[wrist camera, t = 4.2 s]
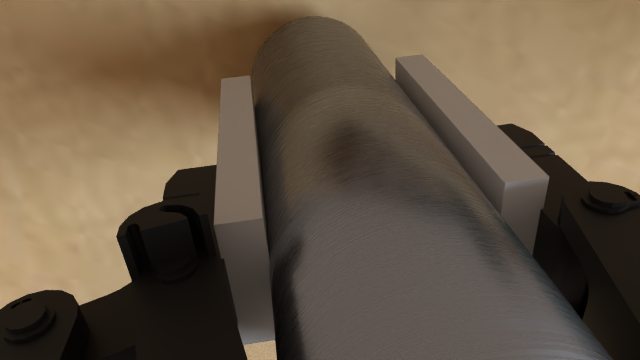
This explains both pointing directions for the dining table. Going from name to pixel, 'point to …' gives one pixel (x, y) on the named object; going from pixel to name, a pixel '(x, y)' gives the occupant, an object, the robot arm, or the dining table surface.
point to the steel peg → (386, 222)
